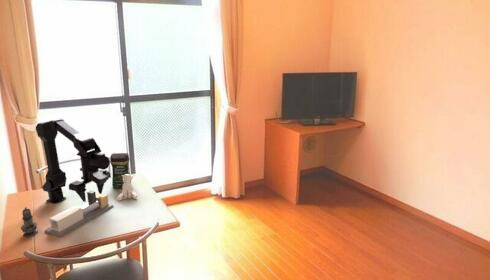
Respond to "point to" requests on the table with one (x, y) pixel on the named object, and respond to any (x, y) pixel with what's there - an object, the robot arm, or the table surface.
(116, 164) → the coffee jar
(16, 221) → the table surface
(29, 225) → the dark grey statuette
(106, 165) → the robot arm
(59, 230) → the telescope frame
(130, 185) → the seated beast figurine
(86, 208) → the steel t-shaped block
